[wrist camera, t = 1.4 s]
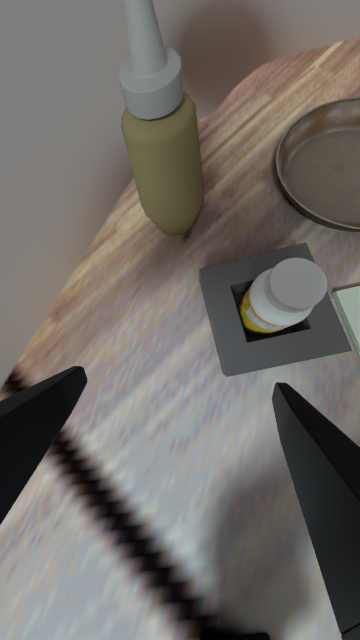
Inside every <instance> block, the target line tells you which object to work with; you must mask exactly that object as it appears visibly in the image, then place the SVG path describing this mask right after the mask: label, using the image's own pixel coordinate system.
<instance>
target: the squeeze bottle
mask: <svg viewBox="0 0 360 640" xmlns="http://www.w3.org/2000/svg"><path fill="white" fill-rule="evenodd" d="M123 6H124V15H125V25H126V34H127V43H128V53H129V57H128V58H127V59H126V60H125V61H124V63H123V64H122V66H121V68H120V69H119V83H120V87H121V90H122V93H123V97H124V100H125V103H126V108H125V111H124V113H123V115H122V123H121V128H122V132H123V135H124V140H125V143H126V147H127V151H128V155H129V158H130V163H131V166H132V170H133V174H134V178H135V182H136V186H137V189H138V193H139V197H140V201H141V205H142V207H143V209H144V212H145V214H146V215H147V216H148V217H149V218H150V220H151V221H152V222H153V223H154V224H155V225H156V226H157V227H158V228H159V229H160V230H161V231H163V232H164V233H166V234H170V235H180V234H182V233H185V232H187V231H188V230H189V229H190V228H191V227H192V226H193V225H194V223H195V220H196V218H197V215H198V213H199V210H200V208H201V205H202V203H203V200H204V188H203V177H202V167H201V157H200V147H199V137H198V127H197V117H196V108H195V103H194V102H193V100H192V99H191V97H190V96H189V94H187V93H186V92H185V91H184V90H183V79H182V63H181V58H180V57H179V56H178V54H177V53H176V51H174V50H172V49H170V48H168V47H164V45H163V41H162V37H161V33H160V29H159V25H158V22H157V18H156V14H155V10H154V6H153V2H152V0H123Z"/></svg>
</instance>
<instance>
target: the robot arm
mask: <svg viewBox="0 0 360 640" xmlns="http://www.w3.org/2000/svg"><path fill="white" fill-rule="evenodd" d="M86 384H87V377H86V374H85V371H84V368H83V367H81V366H73V367H71V368H69V369H67V370H65V371H62V372H60V373H58V374H56V375H54V376H52V377H50V378H48V379H46V380H44V381H42V382H40V383H37V384H35V385H33V386H31V387H29V388H27V389H25V390H23V391H21V392H19V393H17V394H15V395H12V396H10V397H8V398H6V399H4V400H2V401H0V525H1V523H2V521H3V520H4V518H5V517H6V515H7V514H8V512H9V510H10V509H11V507H12V506H13V504H14V503H15V501H16V499H17V498H18V496H19V495H20V493H21V492H22V490H23V488H24V487H25V485H26V484H27V482H28V481H29V479H30V477H31V476H32V474H33V473H34V471H35V470H36V468H37V466H38V465H39V463H40V462H41V460H42V459H43V457H44V455H45V454H46V452H47V451H48V449H49V448H50V446H51V444H52V443H53V441H54V440H55V438H56V436H57V435H58V433H59V432H60V430H61V429H62V427H63V425H64V424H65V422H66V421H67V419H68V418H69V416H70V414H71V413H72V411H73V409H74V407H75V405H76V403H77V401H78V399H79V397H80V396H81V394H82V392H83V390H84V388H85V386H86ZM272 402H273V407H274V412H275V417H276V422H277V427H278V432H279V437H280V441H281V445H282V448H283V451H284V455H285V458H286V461H287V464H288V467H289V471H290V474H291V477H292V480H293V483H294V487H295V490H296V493H297V496H298V499H299V503H300V506H301V509H302V512H303V515H304V519H305V522H306V525H307V528H308V531H309V534H310V538H311V541H312V544H313V547H314V550H315V554H316V557H317V560H318V563H319V566H320V570H321V573H322V576H323V579H324V582H325V586H326V589H327V592H328V595H329V598H330V602H331V605H332V608H333V611H334V614H335V618H336V621H337V624H338V627H339V630H340V633H341V634H342V636H341V637H342V640H360V447H359V446H358V445H357V444H356V443H354V442H353V441H352V440H351V439H350V438H349V437H348V436H347V435H345V434H344V433H343V432H342V431H341V430H340V429H339V428H337V427H336V426H335V425H334V424H333V423H332V422H331V421H329V420H328V419H327V418H326V417H325V416H324V415H323V414H321V413H320V412H319V411H318V410H317V409H316V408H315V407H313V406H312V405H311V404H310V403H309V402H308V401H307V400H306V399H304V398H303V397H302V396H301V395H300V394H299V393H298V392H296V391H295V390H294V389H293V388H292V387H291V386H290V385H288V384H287V383H279V382H277V383H276V384H275V387H274V391H273V396H272ZM207 640H271V639H270V636H269V635H268V634H266V633H257V634H249V635H240V636H232V637H224V638H215V639H207Z"/></svg>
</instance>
